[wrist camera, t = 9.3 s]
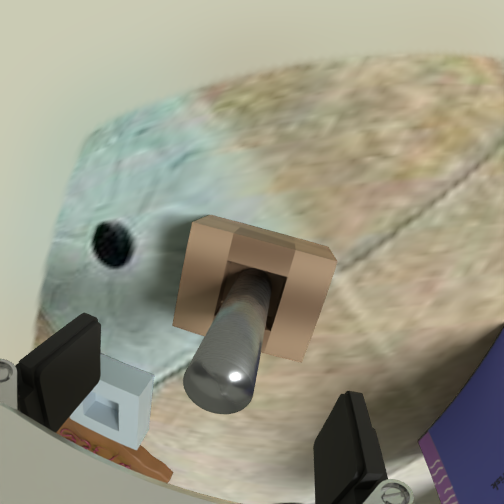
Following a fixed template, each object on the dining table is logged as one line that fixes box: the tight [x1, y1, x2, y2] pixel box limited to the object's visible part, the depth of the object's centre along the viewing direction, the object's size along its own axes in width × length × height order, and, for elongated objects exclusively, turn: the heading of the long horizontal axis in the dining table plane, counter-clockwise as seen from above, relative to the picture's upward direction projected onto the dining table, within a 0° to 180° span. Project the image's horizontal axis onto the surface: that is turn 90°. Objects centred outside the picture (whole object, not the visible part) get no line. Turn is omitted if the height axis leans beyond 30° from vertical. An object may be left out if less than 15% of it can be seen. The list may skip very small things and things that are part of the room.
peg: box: [183, 268, 272, 414], centre depth 18 cm, size 3×3×13 cm
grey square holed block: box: [70, 353, 154, 450], centre depth 29 cm, size 9×9×4 cm
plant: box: [56, 417, 173, 483], centre depth 30 cm, size 20×20×11 cm
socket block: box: [172, 215, 337, 362], centre depth 24 cm, size 8×10×5 cm
